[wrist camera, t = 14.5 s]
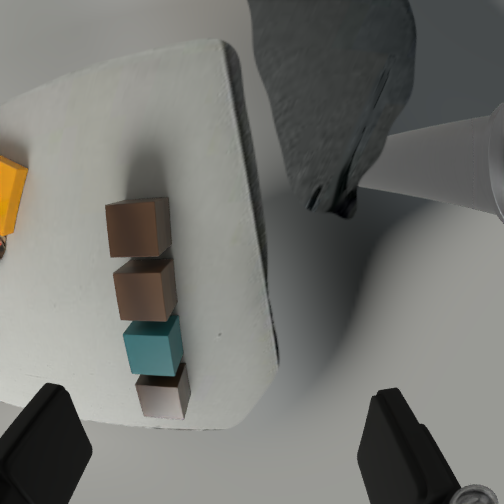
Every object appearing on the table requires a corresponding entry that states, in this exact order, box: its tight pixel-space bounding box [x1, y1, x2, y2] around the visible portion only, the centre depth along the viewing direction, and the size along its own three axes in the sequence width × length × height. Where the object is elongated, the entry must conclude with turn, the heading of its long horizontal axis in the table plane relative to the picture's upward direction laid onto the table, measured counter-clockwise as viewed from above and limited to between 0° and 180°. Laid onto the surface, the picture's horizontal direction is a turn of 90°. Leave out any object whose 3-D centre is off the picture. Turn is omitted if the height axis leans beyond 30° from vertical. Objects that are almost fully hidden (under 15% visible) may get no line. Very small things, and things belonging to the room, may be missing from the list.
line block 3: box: [135, 363, 191, 420], centre depth 32 cm, size 5×5×5 cm
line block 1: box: [105, 197, 172, 257], centre depth 28 cm, size 5×5×5 cm
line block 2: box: [113, 259, 177, 321], centre depth 30 cm, size 5×5×5 cm
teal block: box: [123, 315, 183, 376], centre depth 31 cm, size 5×5×5 cm
